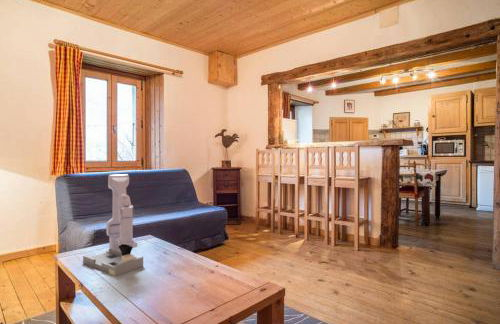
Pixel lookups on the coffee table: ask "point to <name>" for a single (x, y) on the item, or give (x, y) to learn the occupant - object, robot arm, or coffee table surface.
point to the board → (113, 262)
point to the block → (127, 258)
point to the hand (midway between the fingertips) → (126, 259)
